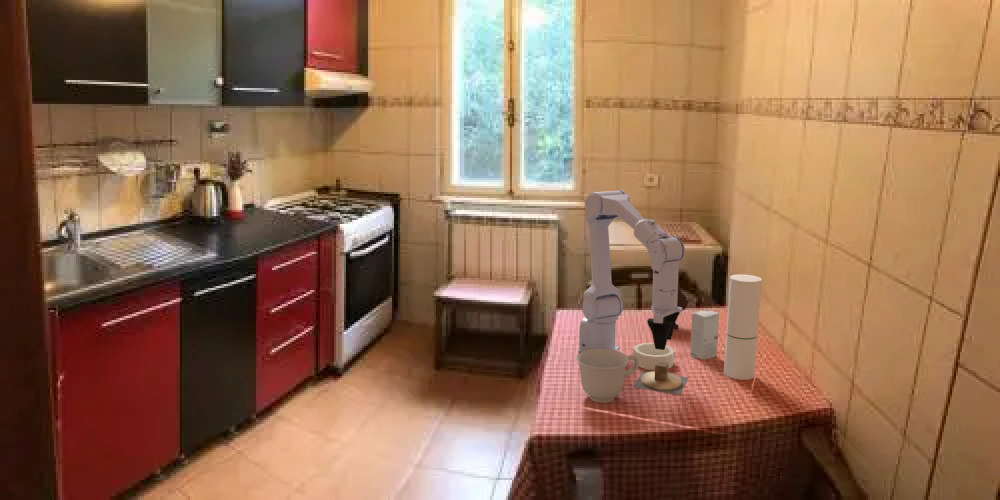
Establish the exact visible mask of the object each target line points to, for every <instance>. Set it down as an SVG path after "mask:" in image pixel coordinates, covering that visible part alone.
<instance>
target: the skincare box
mask: <svg viewBox="0 0 1000 500" xmlns="http://www.w3.org/2000/svg"><path fill="white" fill-rule="evenodd" d="M691 314H692V315H691V332H690V333H691V334H690V351H689V353H690V354H689V356H690V357H692V358H697V359H699V360H710V359H712V358H716V357H717V356H718V354H717V353H718V341H719V340H718V338H719V317H720V313H719V312H717V311H712V310H708V309H705V310H699V311H696V312H692V313H691Z"/></svg>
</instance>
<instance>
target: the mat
mask: <svg viewBox="0 0 1000 500" xmlns="http://www.w3.org/2000/svg"><path fill="white" fill-rule="evenodd" d="M647 372H651V370H642V372H641V374H640V375H639V376H638V378H637V380H636V381H635V383H634V384H633V386H632V388H635V389H636V388H637V389H642V390H647V391H653V392H658V393H659V392H660V393H666V394H672V395H676V396H677V395H678V396H681V394H682V392H683V390H684V388H685V385H686V383H687V382H688V379H689V376H688V377H686V376H680V375H678V376H679V377H680V378H681V380H682V385H681V386H680V387H679V388H677V389H674V390H656V389H651V388H648V387H646V386H644V385H643V384H642V383H641V376H642V375H643V374H644V373H647Z"/></svg>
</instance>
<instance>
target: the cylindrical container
mask: <svg viewBox="0 0 1000 500" xmlns="http://www.w3.org/2000/svg"><path fill="white" fill-rule="evenodd" d="M762 281H763V279H762V278H761V277H759V276H756V275H752V274H743V273H740V274H732V275H730V276H729V286H728V287H729V289H728V300H727V301H728V302H727V317H726V319H727V321H726V334H725V350H724V364H723V374H724V375H725V377H728V378H731V379H733V380H741V381H742V380H746V381H747V380H752V379H753V380H754V379H755V374H756V373H755V372H756V371H755V370H756V360H757V359H756V357H757V356H756V355H757V344H758V333H759V332H758V330H759V319H760V318H759V317H760V305H761V292H762Z"/></svg>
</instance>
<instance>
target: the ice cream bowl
mask: <svg viewBox="0 0 1000 500" xmlns="http://www.w3.org/2000/svg"><path fill="white" fill-rule="evenodd" d="M689 301H690V296H689V295H686V294H685V293H684V292H683V291H682V288H681V286H680V284H679V283H678V295H677V307H682V311H681V312H680V313H682V312H683V311H684V310H686V309H687V307H688V305H689ZM678 327H679V324H677V323H676V322H675V326H674V330H678V329H679V328H678ZM674 330H673V331H674Z"/></svg>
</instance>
